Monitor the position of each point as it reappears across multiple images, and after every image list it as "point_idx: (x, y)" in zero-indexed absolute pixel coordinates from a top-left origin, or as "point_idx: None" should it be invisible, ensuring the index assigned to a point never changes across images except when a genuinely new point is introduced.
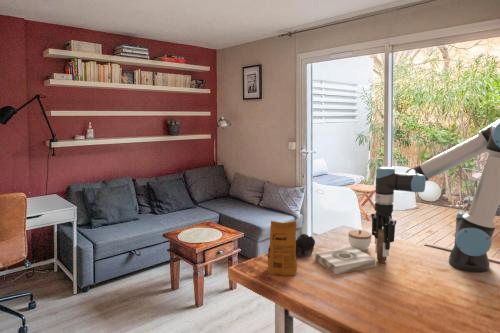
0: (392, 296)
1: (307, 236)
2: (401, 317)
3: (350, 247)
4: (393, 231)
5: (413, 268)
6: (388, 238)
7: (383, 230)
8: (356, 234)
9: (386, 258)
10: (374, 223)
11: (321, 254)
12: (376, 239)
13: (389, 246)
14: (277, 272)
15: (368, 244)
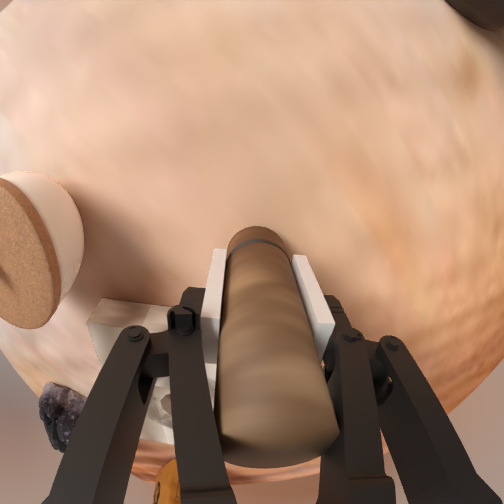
0: (430, 377)
1: (59, 440)
2: (457, 393)
3: (97, 338)
4: (439, 430)
5: (406, 166)
6: (378, 401)
7: (310, 454)
8: (16, 304)
9: (281, 243)
10: (125, 478)
11: (151, 436)
12: (211, 358)
13: (343, 316)
14: None
15: (74, 220)
